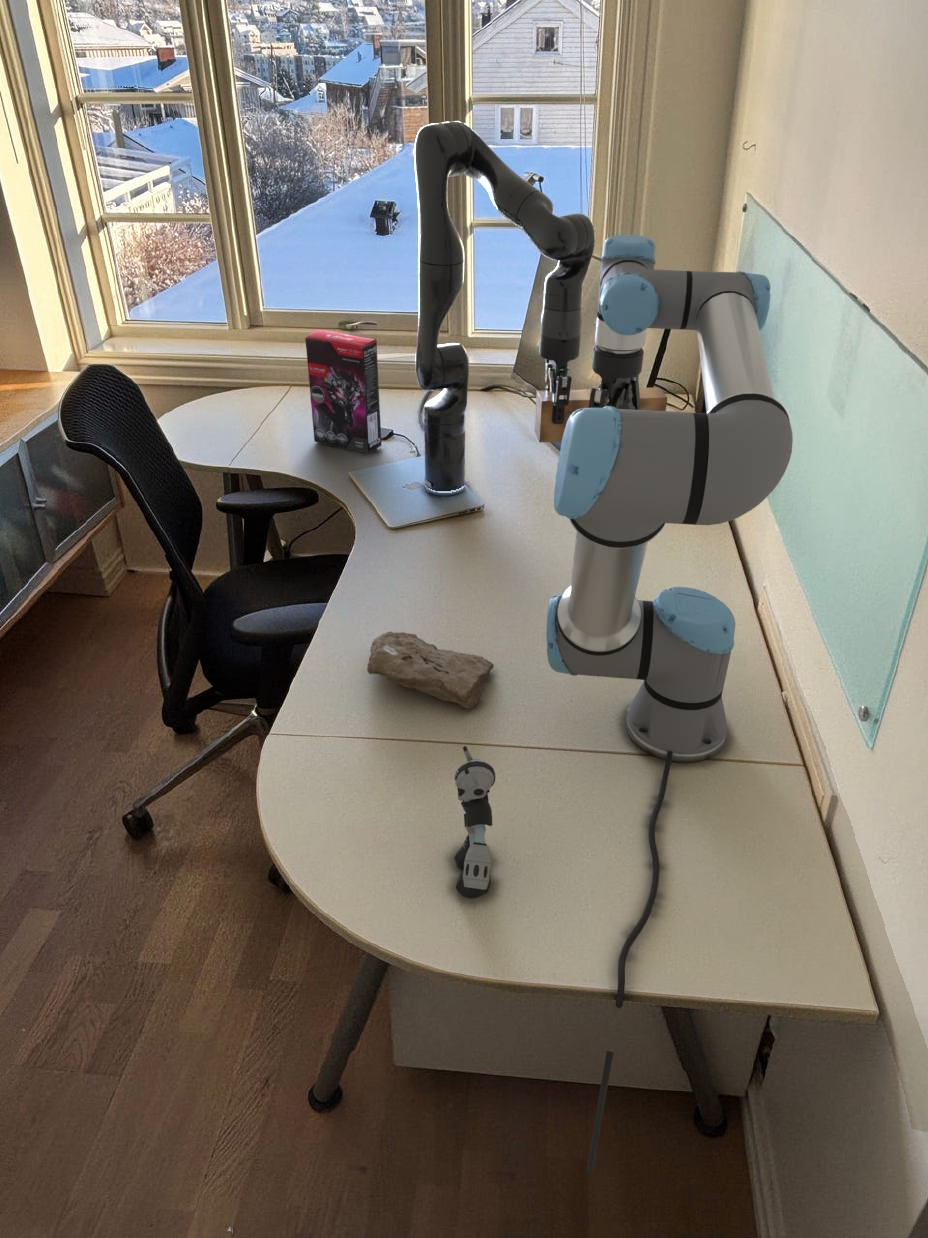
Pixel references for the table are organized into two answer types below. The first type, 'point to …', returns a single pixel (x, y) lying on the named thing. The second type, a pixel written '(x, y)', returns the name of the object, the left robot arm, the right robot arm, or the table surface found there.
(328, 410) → the graphics card box
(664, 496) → the right robot arm
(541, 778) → the table surface
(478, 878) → the robot
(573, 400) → the box
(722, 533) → the table surface
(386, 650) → the stone
